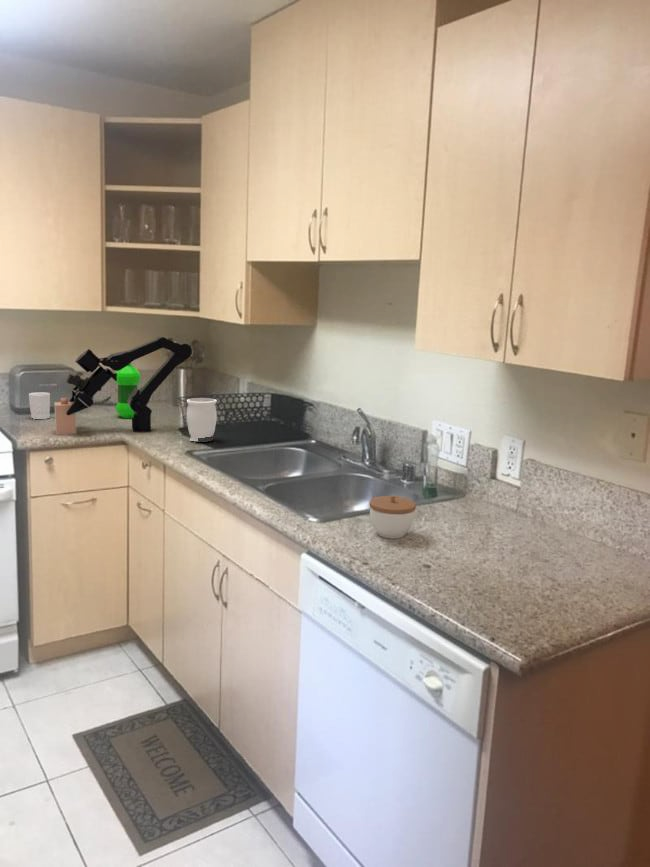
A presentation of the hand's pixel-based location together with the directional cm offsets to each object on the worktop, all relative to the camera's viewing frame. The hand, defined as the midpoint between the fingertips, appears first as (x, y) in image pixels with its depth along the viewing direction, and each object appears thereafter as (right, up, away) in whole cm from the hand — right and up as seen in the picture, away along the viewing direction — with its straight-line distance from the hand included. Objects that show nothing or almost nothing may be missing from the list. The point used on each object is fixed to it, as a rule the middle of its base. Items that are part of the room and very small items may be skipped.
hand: (66, 412), depth 254 cm
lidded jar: (+109, -32, -89) cm, 145 cm away
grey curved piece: (-1, -8, +1) cm, 8 cm away
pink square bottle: (-1, -7, +1) cm, 7 cm away
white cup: (-21, -2, +28) cm, 35 cm away
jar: (+49, -11, -1) cm, 50 cm away
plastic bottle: (+12, -1, +37) cm, 39 cm away
